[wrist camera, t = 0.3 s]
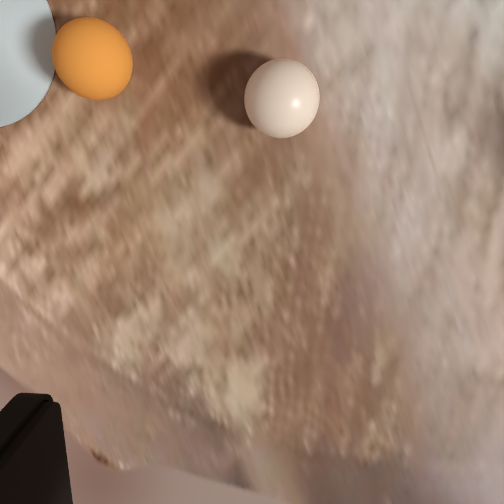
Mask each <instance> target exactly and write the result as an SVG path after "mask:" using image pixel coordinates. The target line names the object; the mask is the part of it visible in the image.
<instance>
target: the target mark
mask: <svg viewBox="0 0 504 504" xmlns="http://www.w3.org/2000/svg"><path fill="white" fill-rule="evenodd" d="M55 36H56V27H55V23H54V19H53V15H52V12H51V10H50V7H49V4H48V2H47V0H0V127H3V126H6V125H10V124H13V123H15V122H17V121H19V120H21V119H22V118H24V117H25V116H27V115H28V114H30V113H31V112H32V111H33V110H34V109H35V108H36V107H37V106H38V105H39V103H40V102H41V101H42V100H43V98H44V97H45V95H46V93H47V91H48V90H49V88H50V85H51V82H52V80H53V77H54V73H55V67H54V64H53V59H52V45H53V41H54V38H55Z"/></svg>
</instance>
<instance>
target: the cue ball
mask: <svg viewBox="0 0 504 504" xmlns="http://www.w3.org/2000/svg"><path fill="white" fill-rule="evenodd" d="M319 97H320V96H319V88H318V85H317V82H316V80H315V78H314V76H313V74H312V73H311V72H310V70H309V69H308V68H307V67H305V66H304V65H303V64H301V63H300V62H297V61H295V60H292V59H286V58H279V59H274V60H270V61H268V62H266V63H264V64H263V65H261V66H260V67H259V68H257V69H256V70H255V72H254V73H253V74H252V76H251V77H250V79H249V81H248V83H247V86H246V89H245V95H244V103H245V109H246V113H247V115H248V118H249V119H250V121H251V123H252V124H253V125H254V126H255V127H256V128H257V129H258V130H259V131H260V132H262V133H263V134H265V135H268V136H270V137H274V138H288V137H292V136H294V135H297V134H299V133H300V132H302V131H303V130H304V129H306V128H307V127H308V126H309V125H310V123H311V122H312V121H313V119H314V117H315V115H316V113H317V110H318V107H319Z"/></svg>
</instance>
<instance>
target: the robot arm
mask: <svg viewBox="0 0 504 504" xmlns="http://www.w3.org/2000/svg"><path fill="white" fill-rule="evenodd" d="M0 504H73V501H72V493H71V486H70V478H69V470H68V462H67V454H66V446H65V438H64V430H63V422H62V414H61V407H60V405H59V403H57V402H53V399H52V397H51V395H49V394H36V393H19V394H17V395H16V396H14V397H13V398H12V399H11V400H10V401H9V403H8V404H7V405H6V406H5V407H4V408H3V409H2V410H1V411H0Z"/></svg>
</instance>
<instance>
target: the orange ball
mask: <svg viewBox="0 0 504 504" xmlns="http://www.w3.org/2000/svg"><path fill="white" fill-rule="evenodd" d="M52 59H53V64H54V67H55V70H56V72H57V74H58V76H59V78H60V79H61V81H62V82H63V83H64V84H65V85H66V86H67V87H68V88H69V89H70V90H71V91H73V92H74V93H76V94H77V95H79V96H81V97H84V98H87V99H91V100H105V99H109V98H112V97H114V96H116V95H117V94H119V93H120V92H121V91H122V90H123V89H124V88H125V87H126V86H127V84H128V82H129V80H130V78H131V74H132V69H133V61H132V54H131V51H130V48H129V46H128V44H127V42H126V40H125V39H124V37H123V36H122V34H121V33H120V32H119V31H118V30H117V29H116V28H114V27H113V26H112V25H110V24H109V23H107V22H105V21H103V20H101V19H97V18H93V17H80V18H76V19H73V20H71V21H69V22H67V23H66V24H64V25H63V26H62V27H61V28H60V30H59V31H58V32H57V34H56V36H55V38H54V41H53V45H52Z"/></svg>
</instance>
